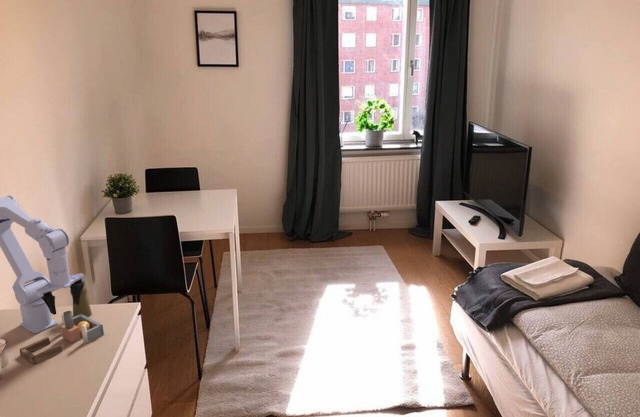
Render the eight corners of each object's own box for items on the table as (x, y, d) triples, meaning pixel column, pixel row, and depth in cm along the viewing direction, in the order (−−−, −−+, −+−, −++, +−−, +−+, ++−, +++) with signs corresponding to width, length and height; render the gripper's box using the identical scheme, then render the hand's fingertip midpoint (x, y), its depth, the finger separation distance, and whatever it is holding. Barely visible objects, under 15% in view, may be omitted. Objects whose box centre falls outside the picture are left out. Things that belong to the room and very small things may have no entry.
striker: (62, 337, 173) (58, 312, 170) (71, 333, 175) (67, 308, 172) (71, 342, 170) (67, 317, 167) (80, 338, 172) (76, 313, 170)
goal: (63, 331, 177) (60, 315, 175) (82, 322, 182) (79, 306, 180) (85, 344, 170) (82, 327, 168) (104, 334, 175) (102, 318, 173)
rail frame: (20, 355, 164) (19, 349, 164) (47, 342, 171) (46, 336, 170) (34, 364, 160) (33, 358, 159) (62, 351, 166) (61, 345, 166)
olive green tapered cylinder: (85, 320, 184) (80, 290, 180) (69, 318, 185) (64, 289, 181) (95, 311, 189) (91, 282, 186) (79, 309, 190) (75, 281, 187)
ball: (87, 319, 178) (83, 331, 178) (76, 319, 175) (72, 331, 175) (94, 323, 176) (90, 335, 176) (83, 323, 173) (79, 335, 173)
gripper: (42, 280, 159) (49, 322, 163) (87, 264, 170) (93, 303, 174) (29, 274, 163) (37, 315, 167) (75, 258, 174) (80, 296, 178)
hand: (65, 308), depth 171 cm, fingers open, 7 cm apart
